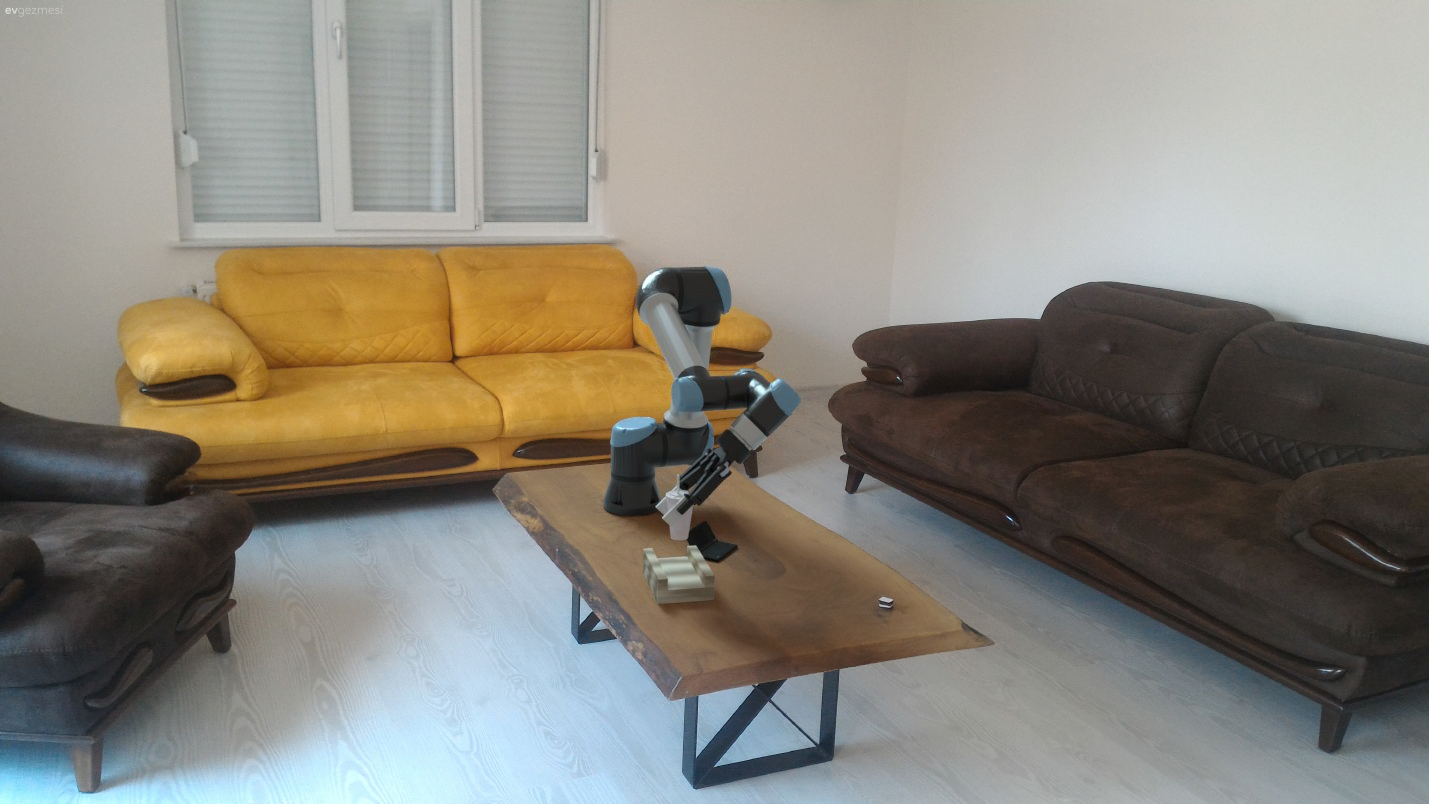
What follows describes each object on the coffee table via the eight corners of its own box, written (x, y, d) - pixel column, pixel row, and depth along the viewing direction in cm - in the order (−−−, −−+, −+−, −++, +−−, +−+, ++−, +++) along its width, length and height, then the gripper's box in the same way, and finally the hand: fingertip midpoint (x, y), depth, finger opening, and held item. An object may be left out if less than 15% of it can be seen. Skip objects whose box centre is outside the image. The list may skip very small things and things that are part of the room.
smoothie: (663, 531, 221) (665, 470, 218) (693, 531, 221) (695, 470, 218) (664, 542, 215) (666, 479, 211) (695, 542, 215) (697, 479, 212)
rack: (642, 571, 227) (643, 548, 226) (695, 568, 230) (695, 545, 229) (657, 604, 211) (658, 579, 210) (713, 599, 214) (714, 575, 213)
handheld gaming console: (726, 557, 233) (704, 520, 234) (701, 572, 235) (679, 535, 236) (740, 547, 244) (719, 511, 245) (716, 561, 246) (695, 526, 247)
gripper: (765, 464, 208) (685, 544, 208) (739, 439, 227) (666, 512, 226) (741, 440, 206) (660, 521, 206) (717, 416, 224) (642, 490, 224)
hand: (663, 516), depth 216 cm, fingers closed on smoothie, 6 cm apart
